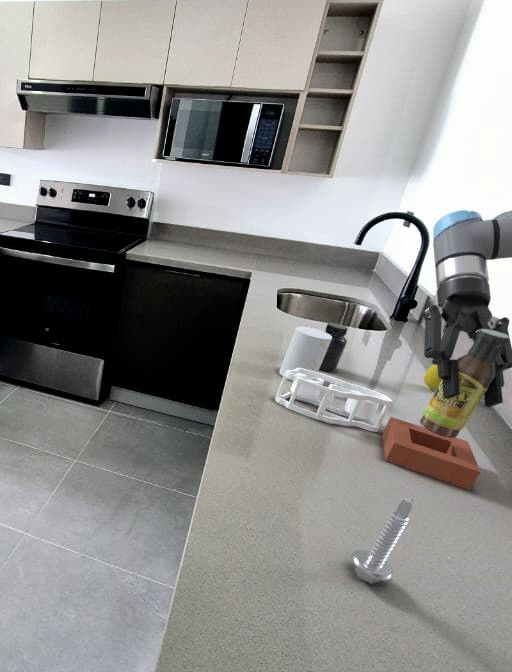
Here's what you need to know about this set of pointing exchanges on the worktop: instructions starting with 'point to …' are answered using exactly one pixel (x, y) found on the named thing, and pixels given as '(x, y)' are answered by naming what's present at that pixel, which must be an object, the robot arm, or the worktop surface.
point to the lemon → (432, 378)
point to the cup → (306, 350)
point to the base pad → (430, 453)
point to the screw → (382, 547)
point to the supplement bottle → (334, 346)
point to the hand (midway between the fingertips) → (472, 400)
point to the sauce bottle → (465, 386)
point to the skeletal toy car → (357, 406)
